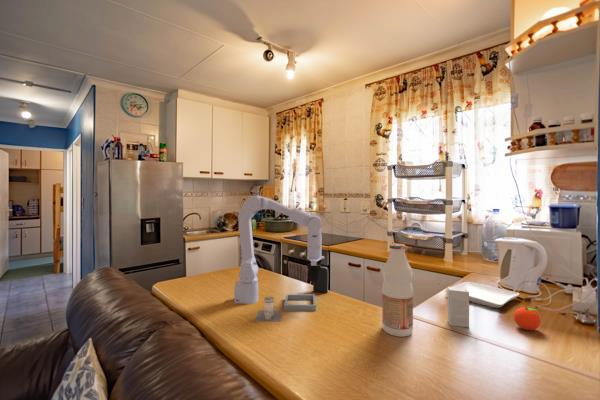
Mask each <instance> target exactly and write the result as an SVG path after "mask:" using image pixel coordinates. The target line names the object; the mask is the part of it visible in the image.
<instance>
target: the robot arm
mask: <svg viewBox="0 0 600 400" xmlns="http://www.w3.org/2000/svg"><path fill="white" fill-rule="evenodd" d="M262 210H272V211H275V212H278V213H281V214H283V215H285V216H288V217H289V220H290V221H291V222H293V223H296V224H298V225H300V226H302V227H307V256H306V259H307V260H308V263H306V267H307V269H308V272H309V273H308V274H309V276H310V277H309V278H310V281H311V283H313V282H317V279H318V273H319V270H320V268H321V266H322V264H321V263H322V260H325V256H323V255H322V254H323V253H322V252H323V251H322V249H323V248H322V245H323V243H322V242H323V241H322V240H323V239H322V237H323V235H322V227H323V224H322V220H321V217H319V216H317V215H315V214H314V213H312V212H310V213H309V212H308V211H306V210H303V208H302V207H294V208H290V207H288V206H287V205H284V204H282V203H280V202H279V201H276V200H274V199H272V198H269V197H265V196H262V195H258V194H257V195H250V196H249V197H248V198H247V199H245V200H244V201H243V205H242V207H241V208H240V210H239V213H238V214H237V218H238V219H237V221H238V230H239V243H240V252H241V261H240V268H239V269H240V270H239V272H238V277H239V280H236V281H235V283H234V287H233V288H234V294H233V296H234V298H233V299H234V304H244V305H250V304H256V303H258V302H259V278H258V276H257V275H258V274H259V272H260V268H259V266H258V263H257V259H256V256H255V250H254V239H253V228H252V218H253V217H254V216H255V215H256V214H257V213H258V212H260V211H262ZM313 214H314V215H313Z"/></svg>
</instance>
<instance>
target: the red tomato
mask: <svg viewBox="0 0 600 400" xmlns="http://www.w3.org/2000/svg"><path fill="white" fill-rule="evenodd" d="M539 311H540V310H539ZM539 311H538V310H537V309H534V308H531V307H524V306H523V307H519V308H517V309H516V310H515V311H514V314H513V320H514V321H515V323H516V325H517V326H518V327H520V328H521V329H524V330H527V331H534V330H537V329H538V328H539V327H540V325H541V317H540V316H539V314H538V312H539ZM539 313H540V312H539ZM540 314H541V316H542V317H543V314H542V313H540Z"/></svg>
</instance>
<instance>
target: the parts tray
mask: <svg viewBox="0 0 600 400" xmlns="http://www.w3.org/2000/svg"><path fill="white" fill-rule="evenodd" d="M284 299H285V300H284V303H283V311H287V312H288V311H291V312H292V311H293V312H294V311H298V312H301V311H304V312H305V311H307V312H309V311H315V312H317V304H316V303H317V302H316V294H314V293H313V294H312V293H311V294H310V293H309V294H305V293H304V294H301V293H299V294H296V293H295V294H292V293H291V294H285V298H284ZM290 300H291V301H294V300H295V301H296V300H297V301H300V300H301V301H308V300H309V301H313V302H312V303H313V304H288V302H289V301H290Z"/></svg>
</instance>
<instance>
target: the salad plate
mask: <svg viewBox="0 0 600 400" xmlns="http://www.w3.org/2000/svg"><path fill="white" fill-rule="evenodd" d="M453 287H456V288H466V289H467V290H468V292H469V302H471V303H474V304H477V305H481V306H482V305H483V306H484V307H485V306H486V307H490V308H497V309H498V308H502V307H503V306H504V305H505V304H507V303H508V302H510V301H513V300H514V299H516V298H517V297H519V296H520V293H519V292H517V291H511V290H508V289H504V288H498V287H494V286H490V285H486V284H481V283H476V282H472V281H465V282H462V283H458V284H456V285H454V286H453ZM445 291H446V292H447V289H445Z"/></svg>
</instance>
